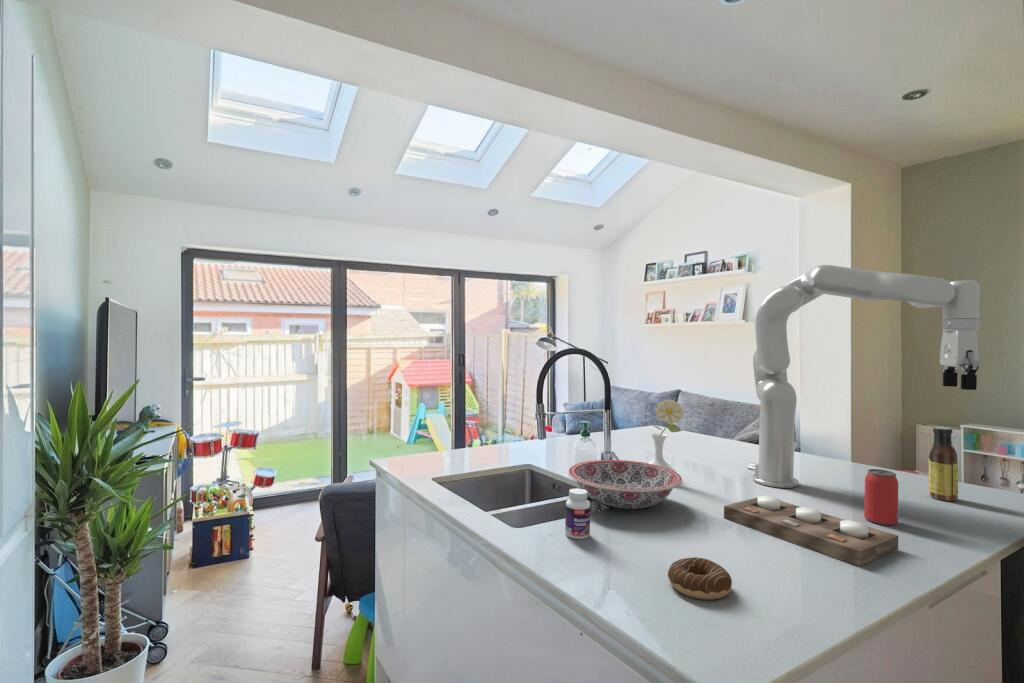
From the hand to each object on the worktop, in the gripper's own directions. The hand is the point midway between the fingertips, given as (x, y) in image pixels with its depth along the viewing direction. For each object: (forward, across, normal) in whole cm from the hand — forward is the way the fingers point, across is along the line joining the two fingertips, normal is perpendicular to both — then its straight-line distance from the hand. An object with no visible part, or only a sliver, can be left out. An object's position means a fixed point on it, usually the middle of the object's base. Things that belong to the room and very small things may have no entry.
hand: (958, 387), depth 140 cm
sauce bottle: (+31, 0, -3) cm, 31 cm away
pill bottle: (+31, +61, -94) cm, 116 cm away
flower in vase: (+31, +9, -78) cm, 85 cm away
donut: (+32, +77, -69) cm, 108 cm away
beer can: (+31, +27, -26) cm, 49 cm away
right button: (+28, +47, -38) cm, 67 cm away
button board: (+31, +42, -46) cm, 69 cm away
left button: (+28, +35, -52) cm, 69 cm away
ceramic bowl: (+31, +36, -87) cm, 99 cm away
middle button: (+28, +41, -45) cm, 67 cm away
